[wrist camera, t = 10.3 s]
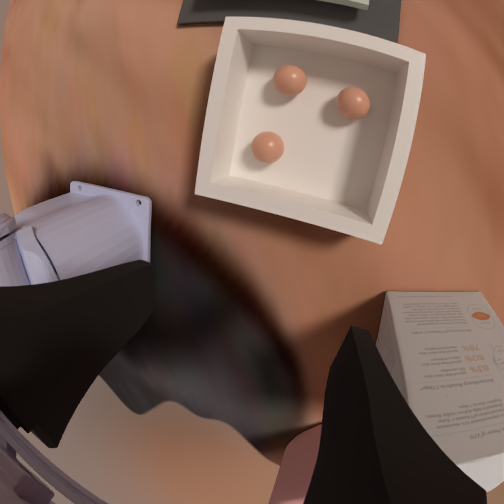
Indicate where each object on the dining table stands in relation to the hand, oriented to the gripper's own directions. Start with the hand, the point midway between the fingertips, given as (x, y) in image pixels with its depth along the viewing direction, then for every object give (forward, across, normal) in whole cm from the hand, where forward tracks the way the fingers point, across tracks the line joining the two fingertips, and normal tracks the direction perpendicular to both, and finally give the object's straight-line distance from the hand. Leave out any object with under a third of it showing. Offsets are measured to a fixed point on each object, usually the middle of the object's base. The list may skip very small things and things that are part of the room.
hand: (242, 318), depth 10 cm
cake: (+10, -16, +24) cm, 30 cm away
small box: (+10, -12, +4) cm, 16 cm away
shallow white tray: (+9, 0, -7) cm, 12 cm away
